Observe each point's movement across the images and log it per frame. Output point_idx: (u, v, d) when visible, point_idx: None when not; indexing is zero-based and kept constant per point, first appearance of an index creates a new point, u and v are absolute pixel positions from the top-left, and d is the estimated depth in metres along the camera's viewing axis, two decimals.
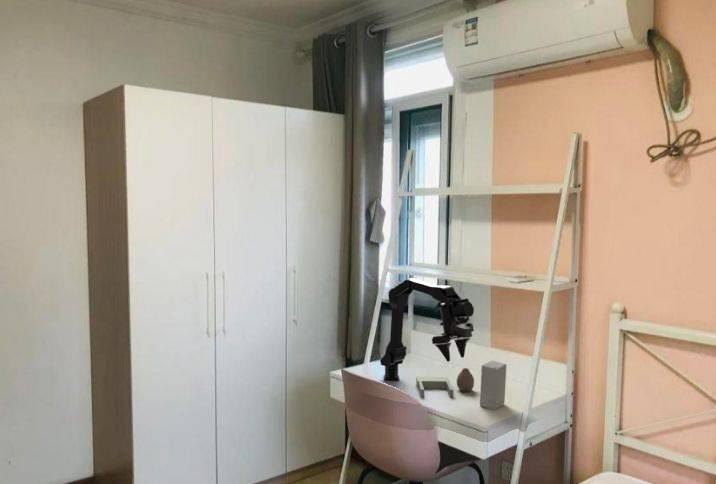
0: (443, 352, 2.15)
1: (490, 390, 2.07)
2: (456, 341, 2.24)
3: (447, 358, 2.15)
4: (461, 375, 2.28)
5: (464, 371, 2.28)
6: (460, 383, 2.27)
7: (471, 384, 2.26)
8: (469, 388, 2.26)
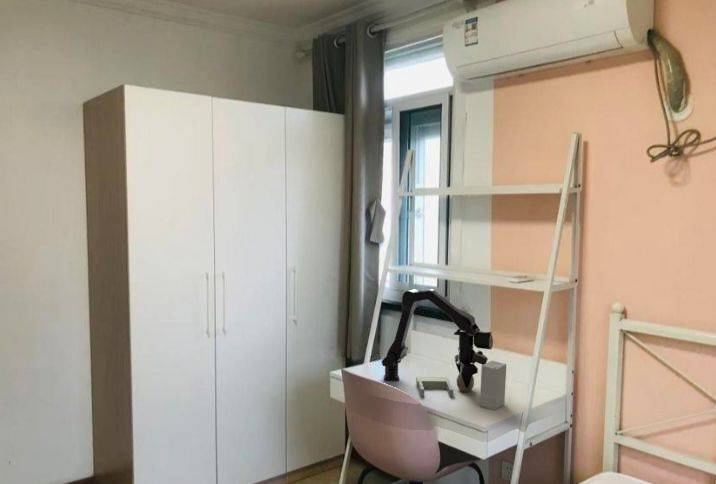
0: (465, 379, 2.24)
1: (490, 390, 2.07)
2: (458, 366, 2.33)
3: (467, 385, 2.25)
4: None
5: None
6: (460, 383, 2.27)
7: (471, 384, 2.26)
8: (469, 388, 2.26)
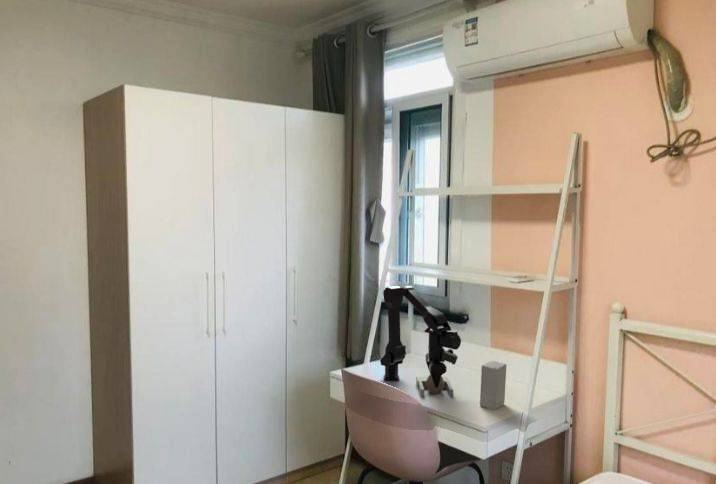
0: (435, 379, 2.20)
1: (490, 390, 2.07)
2: (428, 364, 2.31)
3: (437, 384, 2.21)
4: (430, 377, 2.25)
5: None
6: (429, 385, 2.24)
7: (440, 386, 2.23)
8: (438, 390, 2.23)
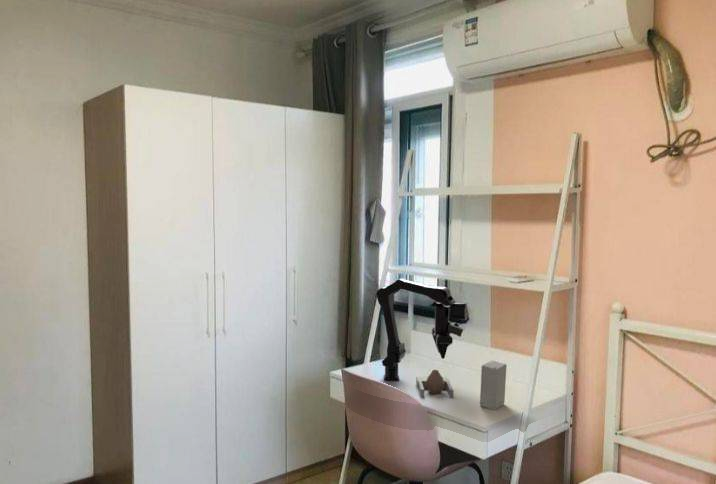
0: (441, 350, 2.29)
1: (490, 390, 2.07)
2: (435, 337, 2.39)
3: (443, 355, 2.29)
4: (430, 377, 2.25)
5: (433, 373, 2.25)
6: (429, 385, 2.24)
7: (440, 386, 2.23)
8: (438, 390, 2.23)
